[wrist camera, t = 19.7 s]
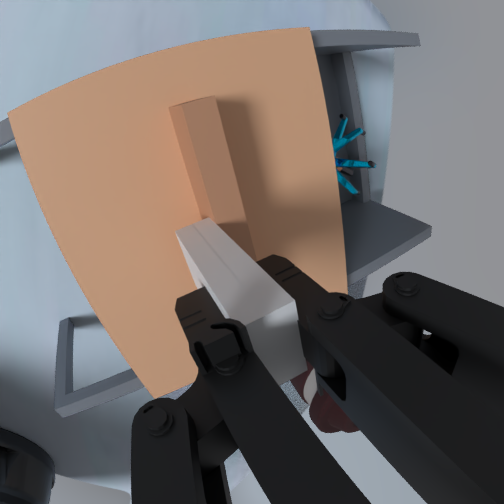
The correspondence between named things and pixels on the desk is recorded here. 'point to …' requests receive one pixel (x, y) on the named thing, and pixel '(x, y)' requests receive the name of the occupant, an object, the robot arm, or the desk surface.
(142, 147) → the lid
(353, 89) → the housing
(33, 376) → the desk surface
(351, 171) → the stick construction toy
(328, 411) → the coffee cup
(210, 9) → the desk surface
